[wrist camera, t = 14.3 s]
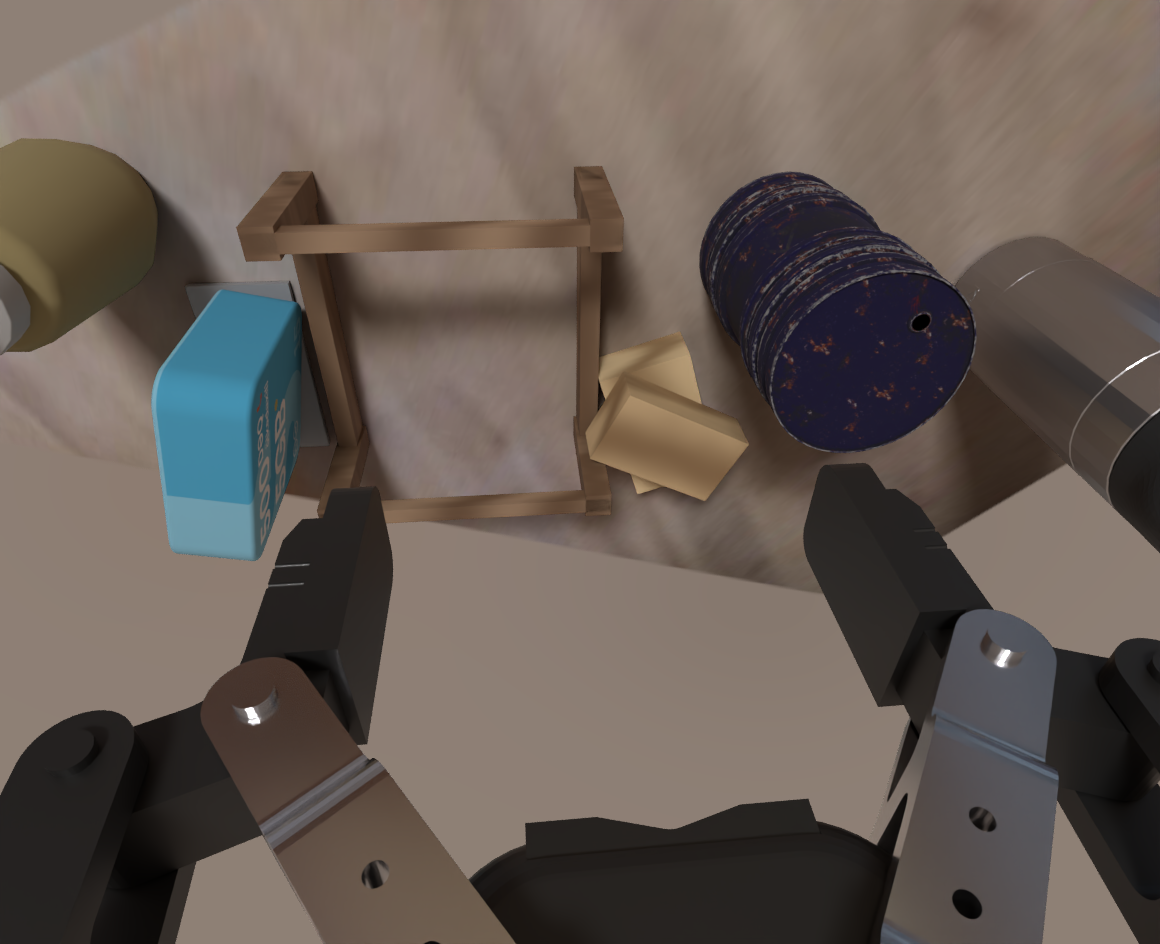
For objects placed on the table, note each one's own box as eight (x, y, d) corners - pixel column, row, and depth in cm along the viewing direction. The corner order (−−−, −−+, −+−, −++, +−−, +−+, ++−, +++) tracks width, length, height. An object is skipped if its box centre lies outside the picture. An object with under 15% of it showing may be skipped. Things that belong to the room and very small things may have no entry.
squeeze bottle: (201, 180, 40) (38, 327, 26) (154, 294, 43) (-12, 479, 29) (38, 85, 36) (-255, 194, 22) (1, 218, 40) (-271, 384, 26)
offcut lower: (678, 329, 48) (689, 353, 46) (706, 442, 55) (717, 470, 52) (593, 356, 49) (599, 382, 46) (630, 465, 55) (637, 494, 52)
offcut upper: (623, 370, 46) (630, 395, 44) (736, 419, 49) (749, 444, 47) (585, 432, 49) (590, 458, 46) (695, 474, 52) (705, 500, 49)
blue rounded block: (301, 450, 51) (256, 573, 41) (232, 442, 50) (170, 565, 40) (303, 293, 44) (249, 397, 34) (223, 279, 43) (146, 382, 33)
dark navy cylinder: (773, 349, 50) (858, 484, 38) (665, 272, 46) (723, 397, 34) (885, 230, 45) (1022, 341, 33) (776, 133, 41) (889, 221, 29)
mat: (289, 280, 44) (288, 283, 43) (330, 442, 51) (329, 445, 51) (186, 283, 43) (184, 286, 43) (242, 446, 51) (241, 449, 50)
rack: (602, 166, 41) (623, 218, 34) (595, 433, 53) (610, 514, 46) (282, 171, 40) (236, 227, 33) (346, 445, 51) (322, 530, 44)
